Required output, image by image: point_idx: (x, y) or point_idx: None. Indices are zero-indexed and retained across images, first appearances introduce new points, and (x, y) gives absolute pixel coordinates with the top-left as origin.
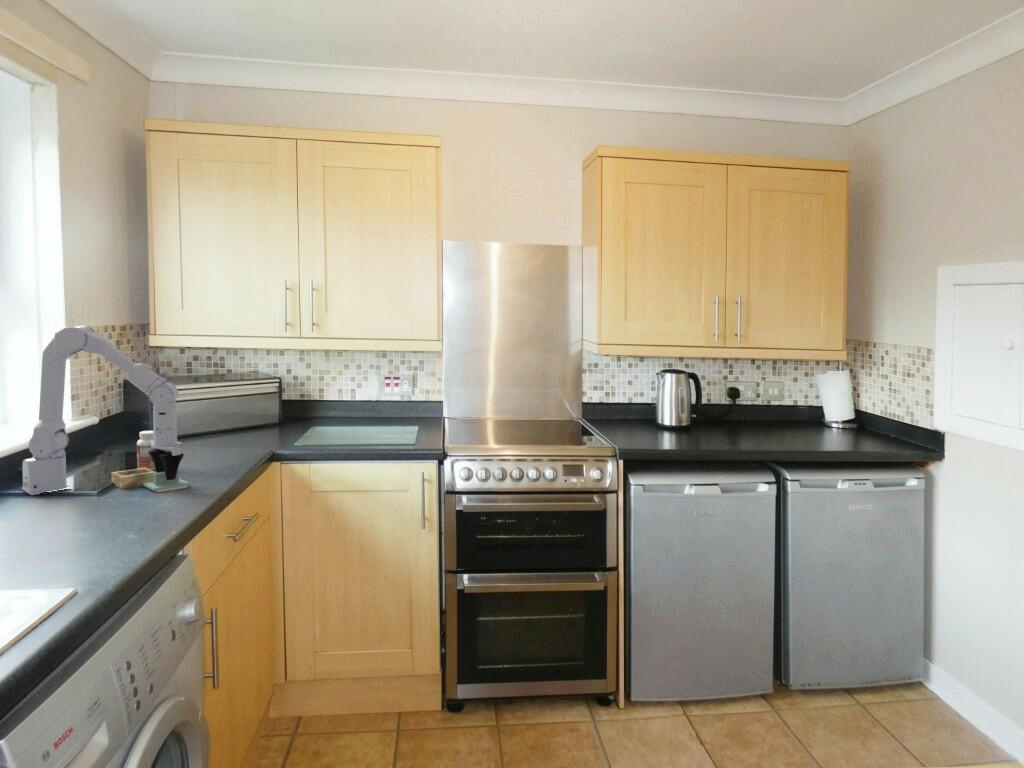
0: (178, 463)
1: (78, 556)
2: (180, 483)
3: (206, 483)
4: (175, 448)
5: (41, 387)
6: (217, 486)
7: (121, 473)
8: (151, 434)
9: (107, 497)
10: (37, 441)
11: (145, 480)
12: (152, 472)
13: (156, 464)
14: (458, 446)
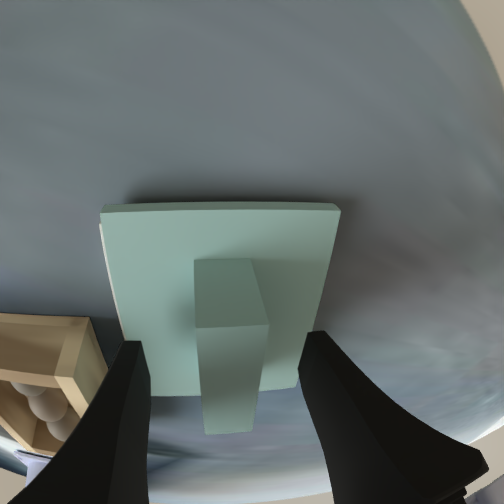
0: (412, 422)
1: (471, 429)
2: (305, 265)
3: (325, 49)
4: None
5: None
6: (446, 65)
7: (21, 429)
8: None
9: (229, 450)
10: None
11: (101, 381)
12: (78, 391)
13: (145, 461)
14: None
